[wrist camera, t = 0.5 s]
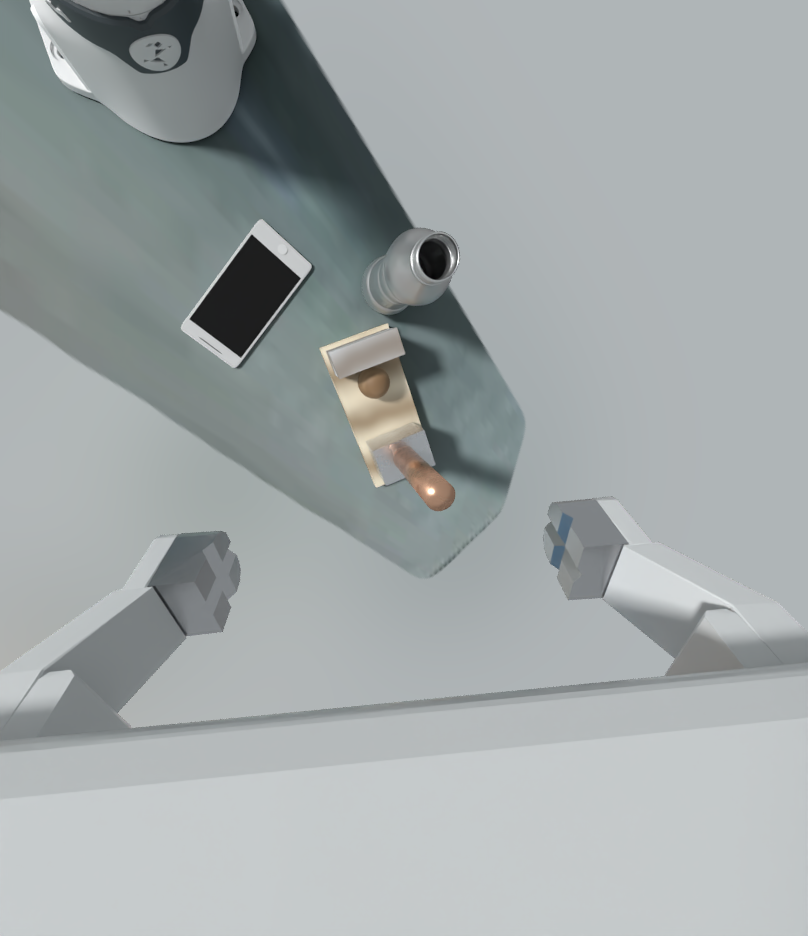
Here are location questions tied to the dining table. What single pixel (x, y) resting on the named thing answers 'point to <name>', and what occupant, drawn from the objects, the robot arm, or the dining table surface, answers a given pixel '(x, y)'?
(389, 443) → the copper post with base
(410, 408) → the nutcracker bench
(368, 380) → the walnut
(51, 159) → the dining table surface
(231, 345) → the smartphone
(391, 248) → the plastic bottle
